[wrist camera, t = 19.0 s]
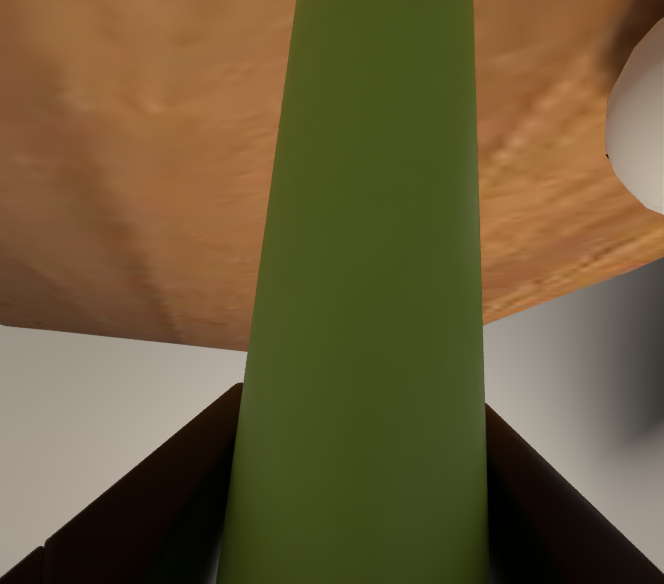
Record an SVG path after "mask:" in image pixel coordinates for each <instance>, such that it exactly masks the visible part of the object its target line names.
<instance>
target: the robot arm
mask: <svg viewBox="0 0 664 584" xmlns="http://www.w3.org/2000/svg"><path fill="white" fill-rule="evenodd" d="M242 390H243V383H237V384H235V385H234V386H232V387H231V388H230V389H229V390H228V391H226V392H225V393H224V394H223V395H221V396H220V397H219V398H218V399H217V400H215V401H214V402H213V403H212V404H211V405H209V406H208V407H207V408H206V409H205V410H203V411H202V412H201V413H200V414H198V415H197V416H196V417H195V418H194V419H192V420H191V421H190V422H189V423H188V424H186V425H185V426H184V427H183V428H182V429H180V430H179V431H178V432H177V433H175V434H174V435H173V436H172V437H171V438H169V439H168V440H167V441H166V442H165V443H163V444H162V445H161V446H160V447H159V448H157V449H156V450H155V451H154V452H152V453H151V454H150V455H149V456H148V457H146V458H145V459H144V460H143V461H142V462H140V463H139V464H138V465H137V466H135V467H134V468H133V469H132V470H131V471H129V472H128V473H127V474H126V475H125V476H123V477H122V478H121V479H120V480H119V481H117V482H116V483H115V484H114V485H112V486H111V487H110V488H109V489H108V490H106V491H105V492H104V493H103V494H102V495H100V496H99V497H98V498H97V499H96V500H95V501H93V502H92V503H91V504H89V505H88V506H87V507H86V508H85V509H84V510H82V511H81V512H80V513H79V514H77V515H76V516H75V517H74V518H73V519H71V520H70V521H69V522H68V523H66V524H65V525H64V526H63V527H62V528H60V529H59V530H58V531H57V532H56V533H54V534H53V535H52V536H51V537H50V538H48V539H47V540H46V541H45V545H44V547H43V546H39V547H37V548H36V549H35V550H33V551H32V552H31V553H30V554H29V555H27V556H26V557H25V558H24V559H23V560H21V561H20V562H19V563H18V564H16V565H15V566H14V567H13V568H12V569H10V570H9V571H8V572H7V573H6V574H4V575H3V576H2V577H1V578H0V584H216V578H217V571H218V564H219V557H220V549H221V542H222V535H223V528H224V520H225V513H226V506H227V499H228V491H229V484H230V477H231V470H232V463H233V455H234V448H235V441H236V434H237V426H238V419H239V412H240V405H241V397H242ZM485 424H486V458H487V493H488V527H489V561H490V584H664V573H662V572H661V571H660V570H659V569H658V568H657V567H656V566H655V565H654V564H653V563H652V562H651V561H650V560H649V559H648V558H647V557H646V556H645V555H644V554H643V553H642V552H641V551H640V550H638V548H636V547H635V546H634V545H633V544H632V543H631V542H630V541H629V540H628V539H627V538H626V537H625V536H624V535H623V534H622V533H621V532H620V531H619V530H618V529H617V528H616V527H615V526H614V525H612V524H611V523H610V522H609V521H608V520H607V519H606V518H605V517H604V516H603V515H602V514H601V513H600V512H599V511H598V510H597V509H596V508H595V507H594V506H593V505H592V504H591V503H590V502H589V501H588V500H587V499H585V498H584V497H583V496H582V495H581V494H580V493H579V492H578V491H577V490H576V489H575V488H574V487H573V486H572V485H571V484H570V483H569V482H568V481H567V480H566V479H564V477H562V476H561V474H559V473H558V472H557V471H556V470H555V469H554V468H553V467H552V466H551V465H550V464H549V463H548V462H547V461H546V460H545V459H544V458H543V457H542V456H541V455H540V454H538V452H537V451H536V450H535V449H533V448H532V447H531V446H530V445H529V444H528V443H527V442H526V441H525V440H524V439H523V438H522V437H521V436H520V435H519V434H518V433H517V432H516V431H515V430H514V429H512V427H511V426H510V425H508V424H507V423H506V422H505V421H504V420H503V419H502V418H501V417H500V416H499V415H498V414H497V413H496V412H495V411H494V410H493V409H492V408H491V407H490V406H489V405H487V404H486V403H485Z"/></svg>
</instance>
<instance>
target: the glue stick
mask: <svg viewBox="0 0 664 584" xmlns="http://www.w3.org/2000/svg"><path fill="white" fill-rule="evenodd" d="M216 584H490V561H489V527H488V493H487V458H486V424H485V391H484V355H483V320H482V286H481V251H480V217H479V182H478V148H477V113H476V79H475V44H474V10H473V0H297V1H296V7H295V14H294V21H293V29H292V36H291V43H290V50H289V57H288V65H287V72H286V79H285V86H284V94H283V101H282V108H281V115H280V123H279V130H278V137H277V144H276V152H275V159H274V166H273V173H272V180H271V188H270V195H269V202H268V209H267V217H266V224H265V231H264V238H263V246H262V253H261V260H260V267H259V274H258V282H257V289H256V296H255V303H254V311H253V318H252V325H251V332H250V340H249V347H248V354H247V361H246V369H245V376H244V383H243V390H242V397H241V405H240V412H239V419H238V426H237V434H236V441H235V448H234V455H233V463H232V470H231V477H230V484H229V491H228V499H227V506H226V513H225V520H224V528H223V535H222V542H221V549H220V557H219V564H218V571H217V578H216Z"/></svg>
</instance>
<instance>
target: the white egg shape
mask: <svg viewBox="0 0 664 584" xmlns="http://www.w3.org/2000/svg"><path fill="white" fill-rule="evenodd" d="M605 149H606V151H607V154H606V156H607V157H608V158H609V159H610V162H611V165H612V167H613V170H614V173H615V175H616V176H617V177H618V179H619V180H620V181H621V182H622V184H623V185H624V186H625V187H626V188H627V189H628V190H629V191H630V192H631V193H632V194H633V195H634V196H635V197H636V198H637V199H638V200H639V201H640V202H641V203H642V204H643V205H644V206H645V207H646V208H648V209H651V210H653V211H655V212H658V213H660V214H663V215H664V17H663V18H662V19H661V20H659V21H658V22H657V23H656V24H655V25H654V26H653V27H652V28H651V30H650V31H649V32H648V33H647V34H646V35H645V36H644V37H643V38H642V39H641V41H640V42H639V43H638V44H637V45H636V46H635V47H634V49H633V51H632V53H631V55H630V56H629V58H628V60H627V62H626V64H625V66H624V68H623V70H622V72H621V74H620V76H619V78H618V80H617V81H616V83H615V85H614V87H613V89H612V91H611V93H610V95H609V97H608V102H607V114H606V126H605Z"/></svg>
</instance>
